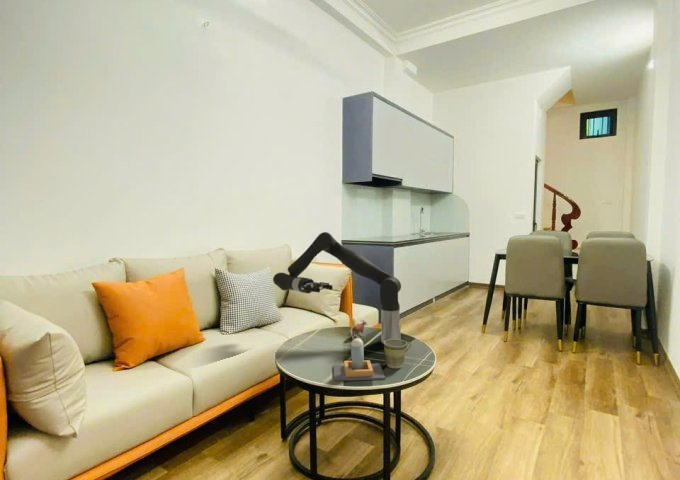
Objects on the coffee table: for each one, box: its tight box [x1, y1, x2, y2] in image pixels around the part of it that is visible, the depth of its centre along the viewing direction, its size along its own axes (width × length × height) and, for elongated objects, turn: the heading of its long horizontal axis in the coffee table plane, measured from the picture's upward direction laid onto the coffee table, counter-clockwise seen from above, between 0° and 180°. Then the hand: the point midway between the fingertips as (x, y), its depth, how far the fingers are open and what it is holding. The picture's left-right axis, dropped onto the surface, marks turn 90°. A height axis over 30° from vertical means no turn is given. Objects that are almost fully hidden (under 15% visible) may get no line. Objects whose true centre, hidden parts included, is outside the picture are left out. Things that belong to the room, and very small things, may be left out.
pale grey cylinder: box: [350, 337, 365, 370], centre depth 152 cm, size 5×5×14 cm
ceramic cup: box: [383, 339, 412, 369], centre depth 160 cm, size 13×10×10 cm
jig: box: [332, 359, 386, 382], centre depth 153 cm, size 20×14×3 cm
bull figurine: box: [351, 319, 368, 340], centre depth 199 cm, size 4×13×8 cm, turn 148°
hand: (325, 288), depth 177 cm, fingers open, 8 cm apart
